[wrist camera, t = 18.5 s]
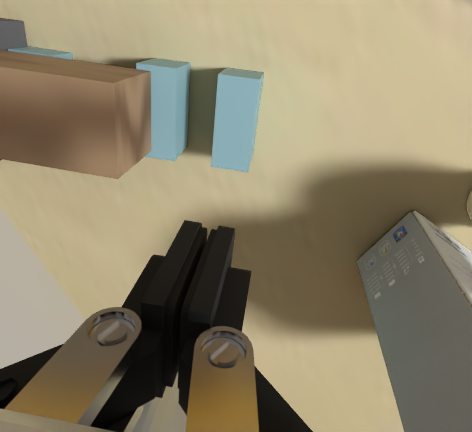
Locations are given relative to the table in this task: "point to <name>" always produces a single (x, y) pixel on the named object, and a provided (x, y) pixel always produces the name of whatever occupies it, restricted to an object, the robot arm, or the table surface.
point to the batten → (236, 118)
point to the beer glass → (469, 205)
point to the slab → (73, 114)
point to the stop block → (12, 34)
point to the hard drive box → (423, 322)
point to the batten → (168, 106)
